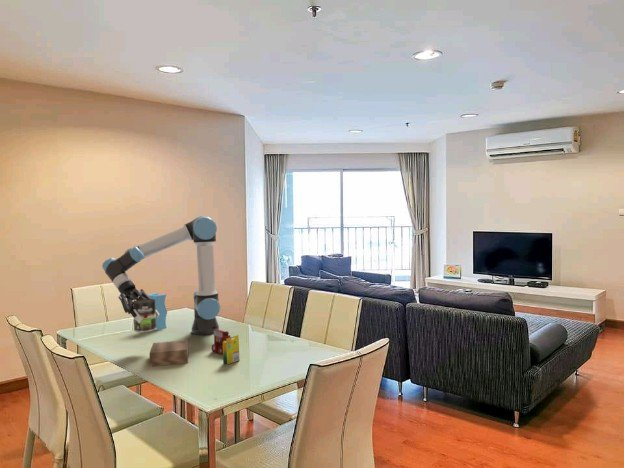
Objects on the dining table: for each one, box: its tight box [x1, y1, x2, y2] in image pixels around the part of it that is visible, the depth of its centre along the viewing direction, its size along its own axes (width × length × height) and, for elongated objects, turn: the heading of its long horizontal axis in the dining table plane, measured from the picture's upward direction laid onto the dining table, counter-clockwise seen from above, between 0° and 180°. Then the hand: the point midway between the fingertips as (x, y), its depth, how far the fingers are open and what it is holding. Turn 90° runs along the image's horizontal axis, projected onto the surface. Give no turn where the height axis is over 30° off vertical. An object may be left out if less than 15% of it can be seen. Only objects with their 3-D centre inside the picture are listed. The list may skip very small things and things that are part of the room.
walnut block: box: [149, 339, 190, 367], centre depth 212 cm, size 16×16×6 cm
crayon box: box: [222, 334, 240, 365], centre depth 207 cm, size 7×3×12 cm, turn 141°
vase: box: [147, 292, 168, 332], centre depth 269 cm, size 8×8×20 cm
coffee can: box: [133, 299, 156, 333], centre depth 223 cm, size 10×10×14 cm
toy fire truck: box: [210, 329, 231, 356], centre depth 221 cm, size 7×12×10 cm, turn 50°
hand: (149, 318), depth 222 cm, fingers closed on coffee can, 10 cm apart
